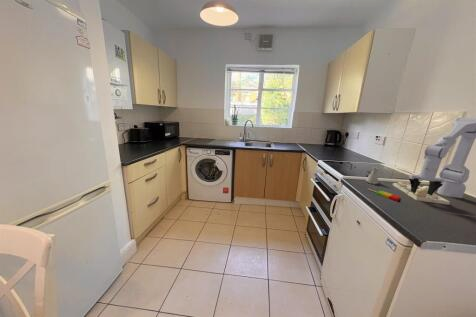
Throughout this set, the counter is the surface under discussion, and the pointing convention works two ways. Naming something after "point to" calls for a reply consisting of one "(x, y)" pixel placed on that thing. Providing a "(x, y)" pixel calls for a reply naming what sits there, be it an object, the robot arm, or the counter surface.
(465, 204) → the counter surface
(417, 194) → the egg
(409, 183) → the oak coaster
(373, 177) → the flask
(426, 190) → the egg
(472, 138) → the robot arm
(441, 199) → the egg box
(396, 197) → the popsicle
